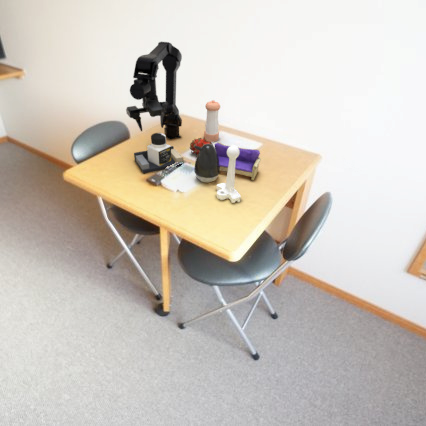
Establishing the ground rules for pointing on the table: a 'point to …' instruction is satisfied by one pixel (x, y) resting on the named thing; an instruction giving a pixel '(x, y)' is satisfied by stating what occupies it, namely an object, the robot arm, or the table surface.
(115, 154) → the table surface
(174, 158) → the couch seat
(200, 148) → the dark grey tapered dome
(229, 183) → the joystick
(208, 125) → the pepper shaker
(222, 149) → the toy sofa
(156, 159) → the medicine bottle
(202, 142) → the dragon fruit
